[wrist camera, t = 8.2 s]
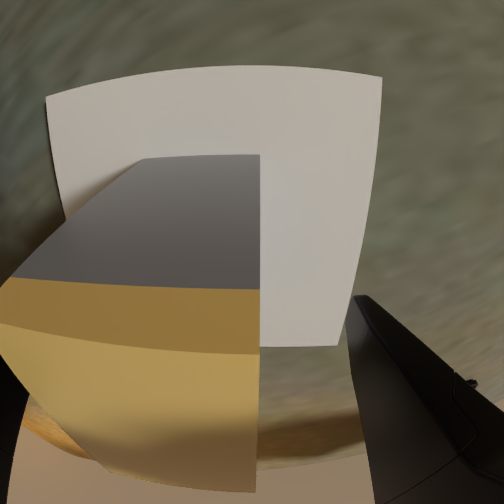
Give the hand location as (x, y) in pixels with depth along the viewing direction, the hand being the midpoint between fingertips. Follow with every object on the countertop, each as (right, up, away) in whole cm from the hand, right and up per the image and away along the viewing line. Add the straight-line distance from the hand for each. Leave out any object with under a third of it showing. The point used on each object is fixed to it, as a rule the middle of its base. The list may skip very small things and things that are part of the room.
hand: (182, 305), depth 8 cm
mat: (0, +2, +4) cm, 4 cm away
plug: (0, +2, +3) cm, 4 cm away
